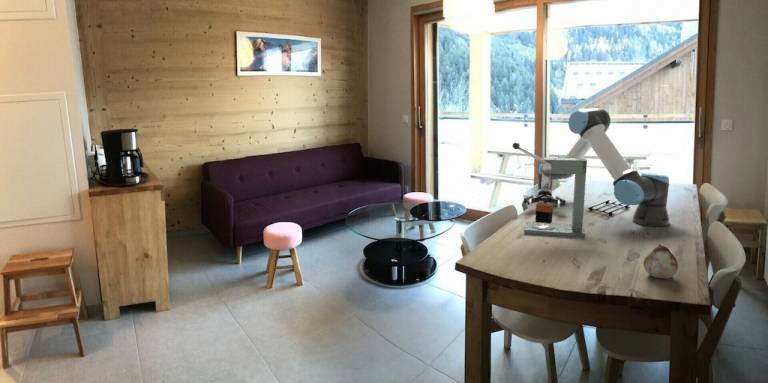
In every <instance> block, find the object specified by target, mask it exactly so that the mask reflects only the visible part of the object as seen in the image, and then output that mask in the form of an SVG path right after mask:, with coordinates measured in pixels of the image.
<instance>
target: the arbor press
mask: <svg viewBox="0 0 768 383" xmlns="http://www.w3.org/2000/svg"><path fill="white" fill-rule="evenodd" d="M512 148H513V149H514V150H518V151H521V152H522V153H524V154H525V155H527V156H529V157H530V158H532V159H534V160H536V161H538V162H540V163H541V164H542V184H541V188H545V189H548V188H550V176H551V174H573V175H574V185H573V186H574V187H573V199H572V200H573V201H572V216H571V217H572V218H571V223H555V222H554V223H553V222H551V223H542V222H536V221H525V224H524V229H523V230H524V231H523V233H524V235H529V234H530V235H531V236H543V237H544V236H545V237H546V236H547V237H559V238H570V239H586V232H585V226H584V224H583V223H584V213H585V212H584V211H585V209H584V208H585V196H586V195H585V194H586V180H587V167H588V166H587V164H588V159H587V158H582V159H581V158H565V157H540V156H538V155H537V154H534V153H533V152H531V151H530V150H528V149H527V148H525V147H523V146H521V145H520V143H519V142H517V141H515V142H514V143H512Z"/></svg>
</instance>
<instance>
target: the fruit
mask: <svg viewBox="0 0 768 383" xmlns="http://www.w3.org/2000/svg"><path fill="white" fill-rule="evenodd" d="M643 268H644V270H645V271H646V273H647V274H648V275H649V276H652V277H653V278H657V279H670V278H672V277H673V276H675V275H676V273H677V271H678V268H679V263H678V260H677V258H676V256H675V255H674V254H673V253H672V252H671V251H670V249H669V248H668V247H666V246H664V245H661V244H659V245H658V246H656V247H655V248H653V249H652V251H651V252H650V253H648V254H647V255H646V256H645V258H644V259H643Z"/></svg>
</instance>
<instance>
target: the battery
mask: <svg viewBox="0 0 768 383" xmlns="http://www.w3.org/2000/svg"><path fill="white" fill-rule="evenodd" d="M553 210H554V203H549V202H547V203H543V201H539V203H537V202H536V204H535V218H534V220H535V221H534V222H542V223H553V215H554V214H553Z"/></svg>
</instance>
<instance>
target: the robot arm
mask: <svg viewBox="0 0 768 383" xmlns="http://www.w3.org/2000/svg"><path fill="white" fill-rule="evenodd" d="M567 124H568V128H569V131H570V132H571V133H574V134H577V135H579V136H580V137H579V138H578V140H577V141H576V142H575V144H574V145H573V146H572V148H571V149H570V150H569V151H568V153H567V154H566V156H565V157H564V158H581V159H584V157H585V156H586V154H587V153H588V152H589V150H590V149H592V150H593V151H594V153H595V154H596V156H597V157H598V159H599V160H600V162H601V163H602V164H603V166H604V167H605V169H606V170H607V172H608V173H609V175H610V176H611V178H612V179H613V182H612V185H613V187H614V188H613V195H614V197H615V199H616V200H617V202H619V203H621V204H622V205H624V206H637V207H636V209H635V211H634V213H633V215H632V222H633V223H636V224H639V225H643V226H648V227H649V226H650V227H665V226H668V225H669V224H670V216H669V214H668V209H667V203H668V194H669V186H670V178H669V176H667V175H664V174H660V173H659V174H658V173H651V172H649V173H647V172H642V173H641V174H640V173H639V172H638V171H637V170H634V169H632V168H631V167H630V166H629V164H628V163H627V161H626V159H625V158H624V157H623V156H622V154H621V153H620V152H619V151H618V149H617V147H616V146H615V144H614V142H612V140H611V139H610V137H609V136H608V135H607V133H606V132H607V131H608V129H609V128H610V126H611V116H610V113H609V112H608V111H607V110H605V109H604V108H600V107H594V108H579V109H576V110H574V111H573V112H571V114H570V115H569V118H568V123H567ZM573 176H574V174H551V176H550V188H548V189H545V188H541V184H542V163H541V164H539V166H538V178H537V179H538V180H537V182H538V184H537V194H536V196H535V195H534V194H531V195H529V196H527V197H524V198H523V203H524V204H526V205H527V206H528V207H529V208H531V207H532V204H535V203H536V204H537V203H539V201H543V203H547V202H549V203H550V204H553V205H557V209H560V208H561V207H562V206H566V204H567V202H566V199H563V198H561V197H560V196H558V195H557V196H554V197H553V184H554V183H553V181H559V180H567V179H570V178H572V177H573Z"/></svg>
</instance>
